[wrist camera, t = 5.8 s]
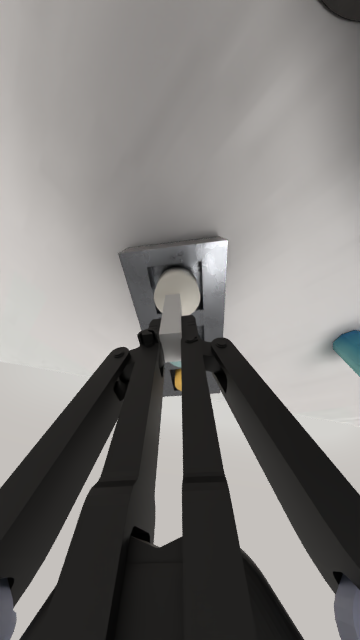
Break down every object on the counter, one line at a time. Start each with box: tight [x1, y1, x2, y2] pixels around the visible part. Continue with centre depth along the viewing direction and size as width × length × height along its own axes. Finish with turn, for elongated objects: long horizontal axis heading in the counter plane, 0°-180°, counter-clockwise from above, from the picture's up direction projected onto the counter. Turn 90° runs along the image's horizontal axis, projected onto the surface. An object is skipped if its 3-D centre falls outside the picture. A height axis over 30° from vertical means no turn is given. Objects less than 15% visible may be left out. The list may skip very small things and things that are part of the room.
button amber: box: [175, 369, 182, 391], centre depth 30 cm, size 5×5×4 cm
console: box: [118, 237, 228, 397], centre depth 26 cm, size 28×12×4 cm, turn 6°
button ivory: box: [154, 267, 200, 316], centre depth 19 cm, size 5×5×4 cm
